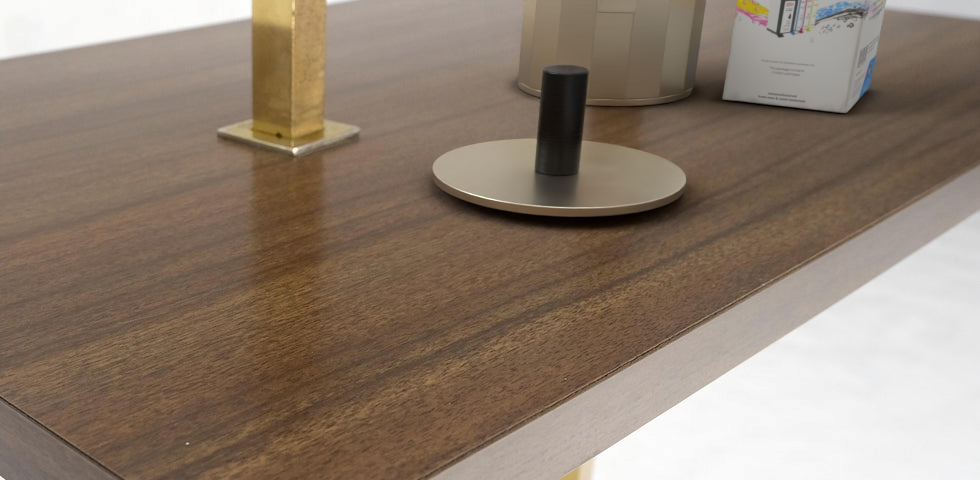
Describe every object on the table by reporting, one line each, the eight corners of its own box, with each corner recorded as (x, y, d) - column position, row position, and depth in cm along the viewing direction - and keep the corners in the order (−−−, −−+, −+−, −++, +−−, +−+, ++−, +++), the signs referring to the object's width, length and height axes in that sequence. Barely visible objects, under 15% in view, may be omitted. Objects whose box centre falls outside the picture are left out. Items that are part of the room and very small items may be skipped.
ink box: (750, 79, 89) (776, -84, 84) (871, 91, 85) (905, -80, 80) (717, 100, 83) (743, -74, 78) (846, 115, 79) (882, -69, 74)
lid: (674, 161, 69) (690, 48, 66) (693, 236, 57) (713, 102, 55) (444, 151, 72) (450, 42, 70) (417, 219, 60) (422, 92, 58)
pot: (682, 66, 94) (697, -45, 91) (702, 118, 78) (721, -13, 75) (523, 61, 97) (531, -46, 94) (511, 111, 81) (521, -16, 78)
